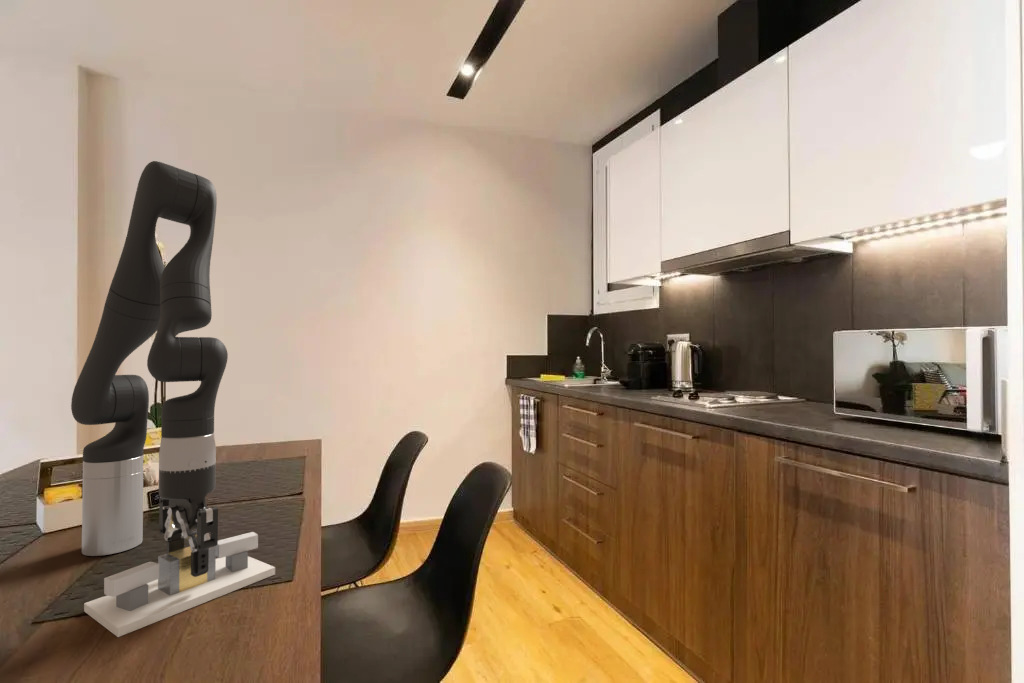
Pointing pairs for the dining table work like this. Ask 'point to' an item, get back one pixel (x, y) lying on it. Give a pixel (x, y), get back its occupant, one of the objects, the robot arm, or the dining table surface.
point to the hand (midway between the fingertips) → (187, 568)
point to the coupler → (182, 571)
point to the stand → (143, 603)
